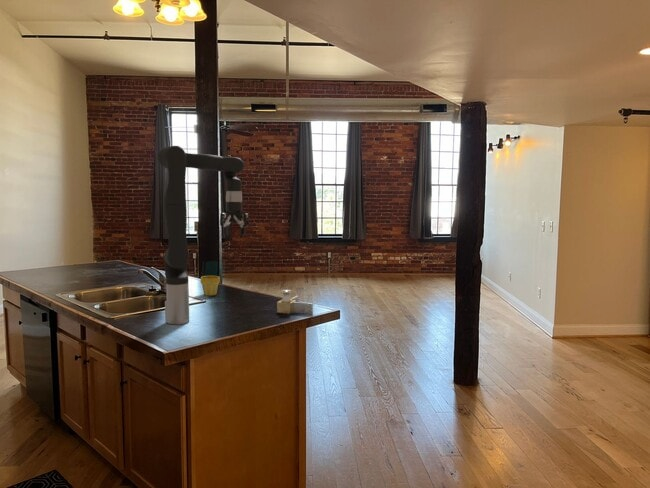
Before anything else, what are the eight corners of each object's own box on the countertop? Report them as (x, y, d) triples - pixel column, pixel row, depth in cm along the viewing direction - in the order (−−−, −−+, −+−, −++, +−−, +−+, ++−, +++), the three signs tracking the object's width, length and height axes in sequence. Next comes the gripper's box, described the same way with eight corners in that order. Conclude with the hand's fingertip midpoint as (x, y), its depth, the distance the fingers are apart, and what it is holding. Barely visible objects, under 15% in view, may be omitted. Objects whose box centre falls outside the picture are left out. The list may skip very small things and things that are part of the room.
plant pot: (218, 291, 276) (217, 274, 275) (221, 295, 267) (221, 277, 266) (199, 293, 272) (199, 276, 271) (202, 296, 263) (202, 279, 262)
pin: (279, 312, 230) (279, 291, 229) (284, 309, 234) (283, 289, 233) (288, 312, 228) (288, 292, 227) (293, 310, 233) (293, 290, 232)
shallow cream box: (277, 312, 229) (277, 302, 228) (291, 305, 244) (291, 295, 244) (309, 315, 223) (309, 305, 223) (322, 307, 239) (322, 297, 238)
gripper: (216, 200, 227) (217, 235, 229) (243, 201, 222) (243, 236, 224) (225, 200, 234) (225, 234, 236) (251, 201, 229) (251, 235, 231)
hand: (234, 235), depth 230 cm, fingers open, 8 cm apart
